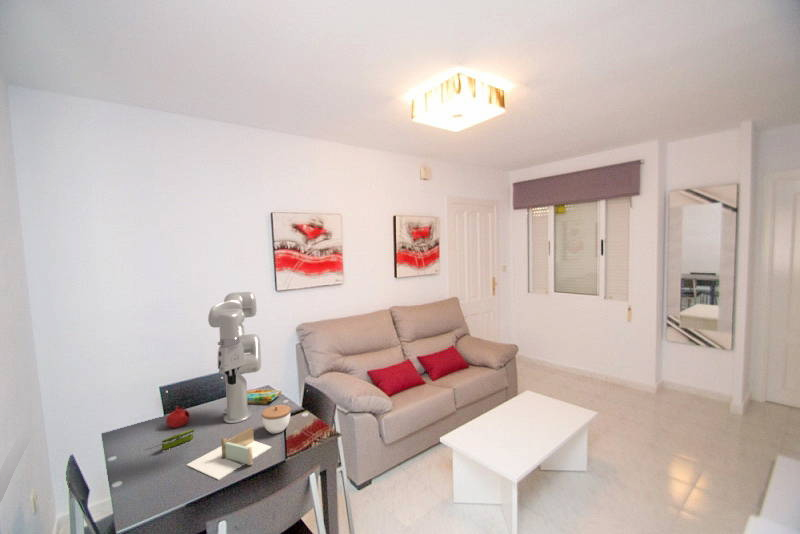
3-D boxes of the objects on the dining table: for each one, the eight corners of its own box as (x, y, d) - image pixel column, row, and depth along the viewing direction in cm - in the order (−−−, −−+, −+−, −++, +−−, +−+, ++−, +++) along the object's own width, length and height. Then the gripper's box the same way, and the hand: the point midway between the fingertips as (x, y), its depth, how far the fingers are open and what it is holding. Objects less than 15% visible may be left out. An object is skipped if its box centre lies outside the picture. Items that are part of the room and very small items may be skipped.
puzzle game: (249, 388, 205) (281, 388, 203) (249, 396, 205) (281, 396, 203) (237, 396, 194) (271, 397, 191) (237, 404, 194) (271, 405, 191)
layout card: (186, 465, 137) (186, 464, 137) (240, 436, 158) (240, 435, 158) (218, 480, 127) (218, 478, 127) (271, 447, 148) (271, 446, 148)
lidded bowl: (295, 423, 169) (294, 401, 169) (284, 437, 157) (283, 412, 156) (270, 422, 171) (269, 400, 170) (257, 436, 158) (256, 412, 158)
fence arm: (250, 465, 135) (249, 449, 135) (225, 458, 140) (224, 442, 140) (253, 463, 136) (253, 447, 136) (228, 456, 142) (228, 440, 141)
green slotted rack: (197, 431, 153) (189, 420, 160) (145, 450, 139) (138, 437, 146) (196, 445, 155) (188, 434, 161) (145, 466, 140) (138, 452, 147)
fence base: (221, 457, 141) (220, 439, 141) (251, 440, 154) (250, 423, 153) (224, 458, 140) (223, 440, 140) (254, 441, 153) (253, 424, 152)
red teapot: (170, 432, 164) (168, 413, 163) (163, 425, 171) (162, 407, 170) (193, 424, 172) (192, 405, 171) (186, 417, 178) (184, 400, 177)
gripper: (219, 347, 140) (221, 392, 142) (250, 338, 153) (252, 379, 155) (207, 345, 144) (209, 388, 145) (239, 336, 157) (241, 376, 158)
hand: (231, 383), depth 150 cm, fingers closed
